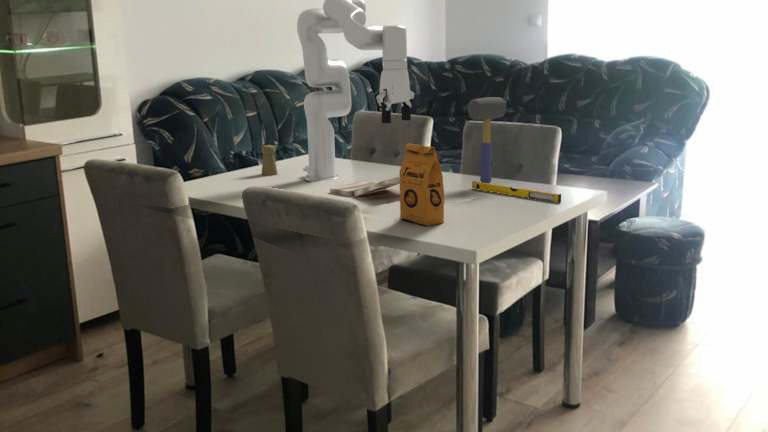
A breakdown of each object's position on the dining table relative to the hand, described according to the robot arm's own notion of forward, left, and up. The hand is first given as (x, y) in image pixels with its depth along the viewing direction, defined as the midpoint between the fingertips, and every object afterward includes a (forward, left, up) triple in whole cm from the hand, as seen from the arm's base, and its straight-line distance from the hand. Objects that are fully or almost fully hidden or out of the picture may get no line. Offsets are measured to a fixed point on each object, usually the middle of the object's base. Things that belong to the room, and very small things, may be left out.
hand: (396, 121), depth 258 cm
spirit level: (+27, +28, -25) cm, 46 cm away
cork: (-66, +5, -25) cm, 71 cm away
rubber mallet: (+9, +38, -25) cm, 46 cm away
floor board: (-8, -1, -25) cm, 26 cm away
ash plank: (-4, -1, -21) cm, 21 cm away
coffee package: (+25, -18, -25) cm, 40 cm away
